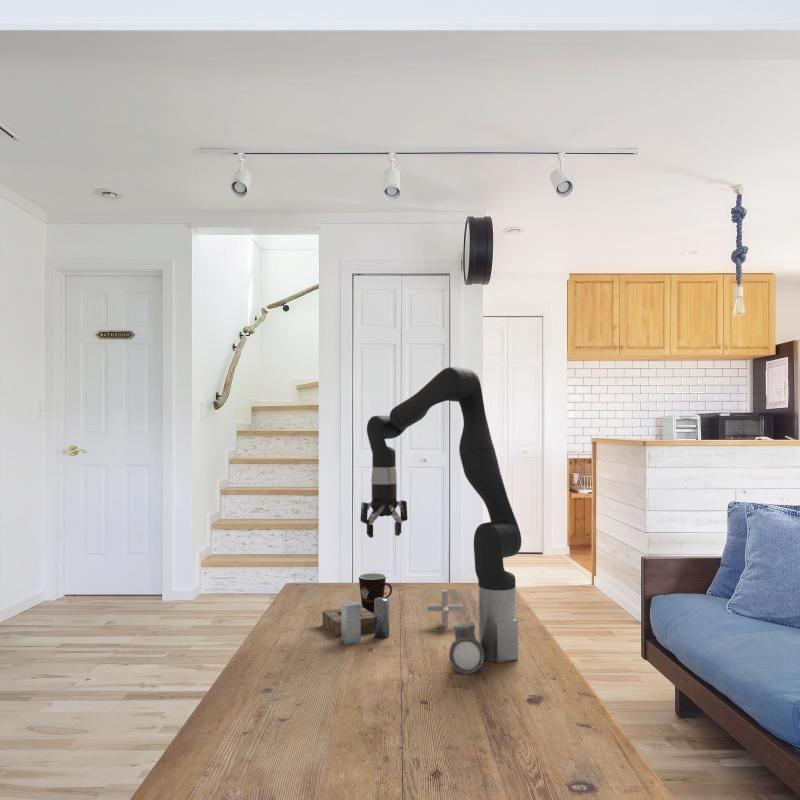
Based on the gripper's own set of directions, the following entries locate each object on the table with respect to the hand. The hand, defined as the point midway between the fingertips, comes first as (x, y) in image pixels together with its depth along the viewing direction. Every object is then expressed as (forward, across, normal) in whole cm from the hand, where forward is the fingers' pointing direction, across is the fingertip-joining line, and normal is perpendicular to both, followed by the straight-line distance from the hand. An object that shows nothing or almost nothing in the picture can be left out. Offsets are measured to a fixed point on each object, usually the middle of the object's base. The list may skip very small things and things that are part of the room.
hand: (384, 536), depth 194 cm
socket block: (+24, -12, -4) cm, 28 cm away
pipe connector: (+24, +13, -14) cm, 31 cm away
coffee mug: (+25, 0, +10) cm, 27 cm away
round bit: (+24, -7, -15) cm, 29 cm away
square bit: (+24, -16, -15) cm, 33 cm away
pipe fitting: (+24, +4, -43) cm, 50 cm away
